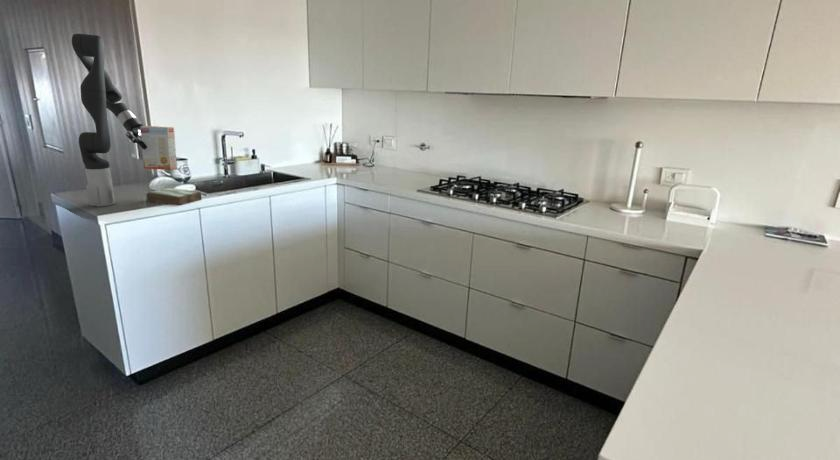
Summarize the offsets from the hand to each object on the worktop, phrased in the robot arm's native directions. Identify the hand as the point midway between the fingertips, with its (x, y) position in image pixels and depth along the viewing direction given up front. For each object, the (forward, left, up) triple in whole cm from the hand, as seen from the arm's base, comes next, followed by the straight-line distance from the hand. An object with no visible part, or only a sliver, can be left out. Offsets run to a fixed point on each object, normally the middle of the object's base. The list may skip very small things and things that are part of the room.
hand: (151, 147), depth 226 cm
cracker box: (0, -4, -11) cm, 11 cm away
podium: (-1, -13, -25) cm, 28 cm away
